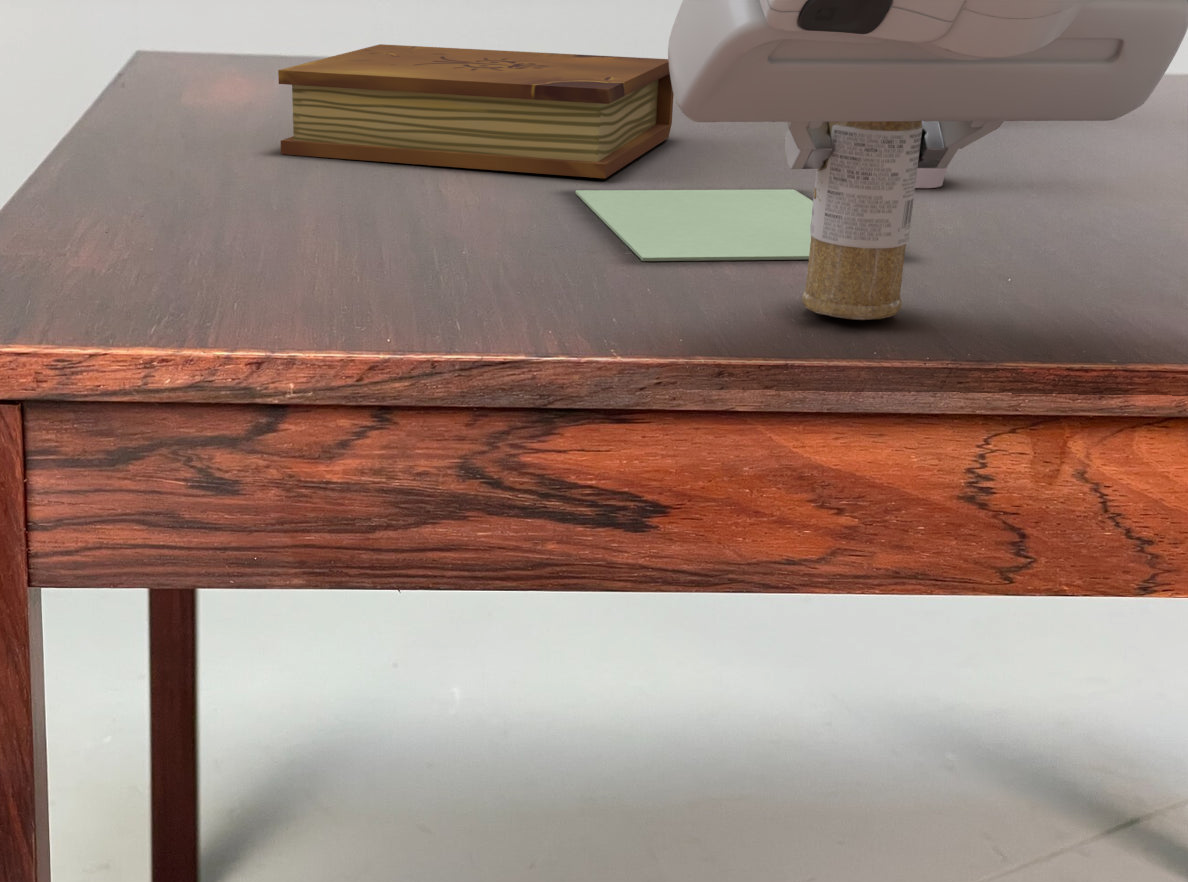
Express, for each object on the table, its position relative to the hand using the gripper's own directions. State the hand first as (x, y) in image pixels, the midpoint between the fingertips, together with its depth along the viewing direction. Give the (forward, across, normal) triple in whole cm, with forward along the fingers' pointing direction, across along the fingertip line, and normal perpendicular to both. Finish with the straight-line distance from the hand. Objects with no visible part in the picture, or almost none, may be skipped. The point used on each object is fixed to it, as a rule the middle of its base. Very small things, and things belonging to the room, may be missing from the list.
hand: (862, 156), depth 73 cm
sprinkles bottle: (+5, 0, +6) cm, 7 cm away
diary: (+38, +10, -27) cm, 48 cm away
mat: (+19, 0, -9) cm, 21 cm away
